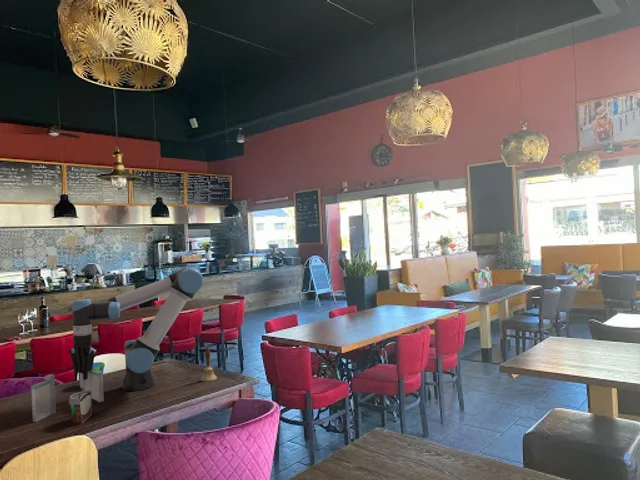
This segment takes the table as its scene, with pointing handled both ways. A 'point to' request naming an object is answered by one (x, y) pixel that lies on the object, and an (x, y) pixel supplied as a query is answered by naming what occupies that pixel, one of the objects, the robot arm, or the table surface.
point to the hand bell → (208, 369)
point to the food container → (80, 406)
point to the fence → (44, 398)
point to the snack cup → (99, 366)
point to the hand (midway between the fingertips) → (83, 386)
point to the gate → (95, 384)
